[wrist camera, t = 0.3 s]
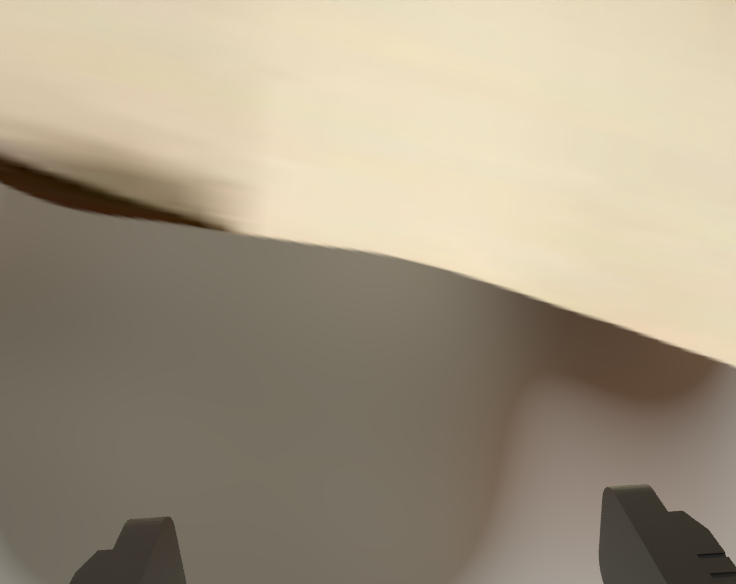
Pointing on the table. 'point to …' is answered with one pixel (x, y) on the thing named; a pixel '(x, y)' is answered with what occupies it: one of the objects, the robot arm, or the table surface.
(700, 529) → the robot arm
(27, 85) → the table surface
